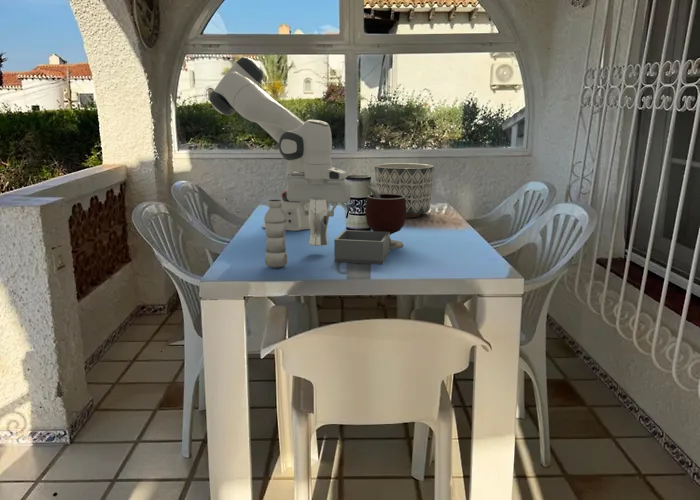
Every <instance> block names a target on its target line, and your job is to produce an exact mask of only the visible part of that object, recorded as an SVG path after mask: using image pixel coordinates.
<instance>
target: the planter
mask: <svg viewBox="0 0 700 500" xmlns="http://www.w3.org/2000/svg"><path fill="white" fill-rule="evenodd" d="M434 168H435V166H434V165H432V164H428V163H427V164H426V163H416V162H415V163H411V162H409V163H407V162H394V163H393V162H390V163H388V162H387V163H379V164H375V165H374V180H375V181H374V182H375V190H376V191H377V192H378V193H379V194H399V195H404V196H405V200H406V219H407V218H416V217H419V216H420V215H421V214H426V213H428V212H429V211H431V199H432V190H433V188H432V187H433V178H434V170H435V169H434Z"/></svg>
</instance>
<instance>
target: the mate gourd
mask: <svg viewBox="0 0 700 500" xmlns="http://www.w3.org/2000/svg"><path fill="white" fill-rule="evenodd" d="M366 188H368V189H369V191H370V192H371V194H367V198H366V202H365V220H366V225H368V227H369V228H370V231H378V232H390V236H392V235H393V234H395V233H397V232H400V231H401V230H402V228H404V226H405V223H406V219H407V218H406V200H405V196H404V195H399V194H379V193H378V192H377V191H376V188H374V187H372V186H370V185H367V187H366ZM403 247H404V243H403V242H402V241H399V240H396V239H395V240H393V239H391V238H390V244H389V250H396V249H400V248H403Z"/></svg>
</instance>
